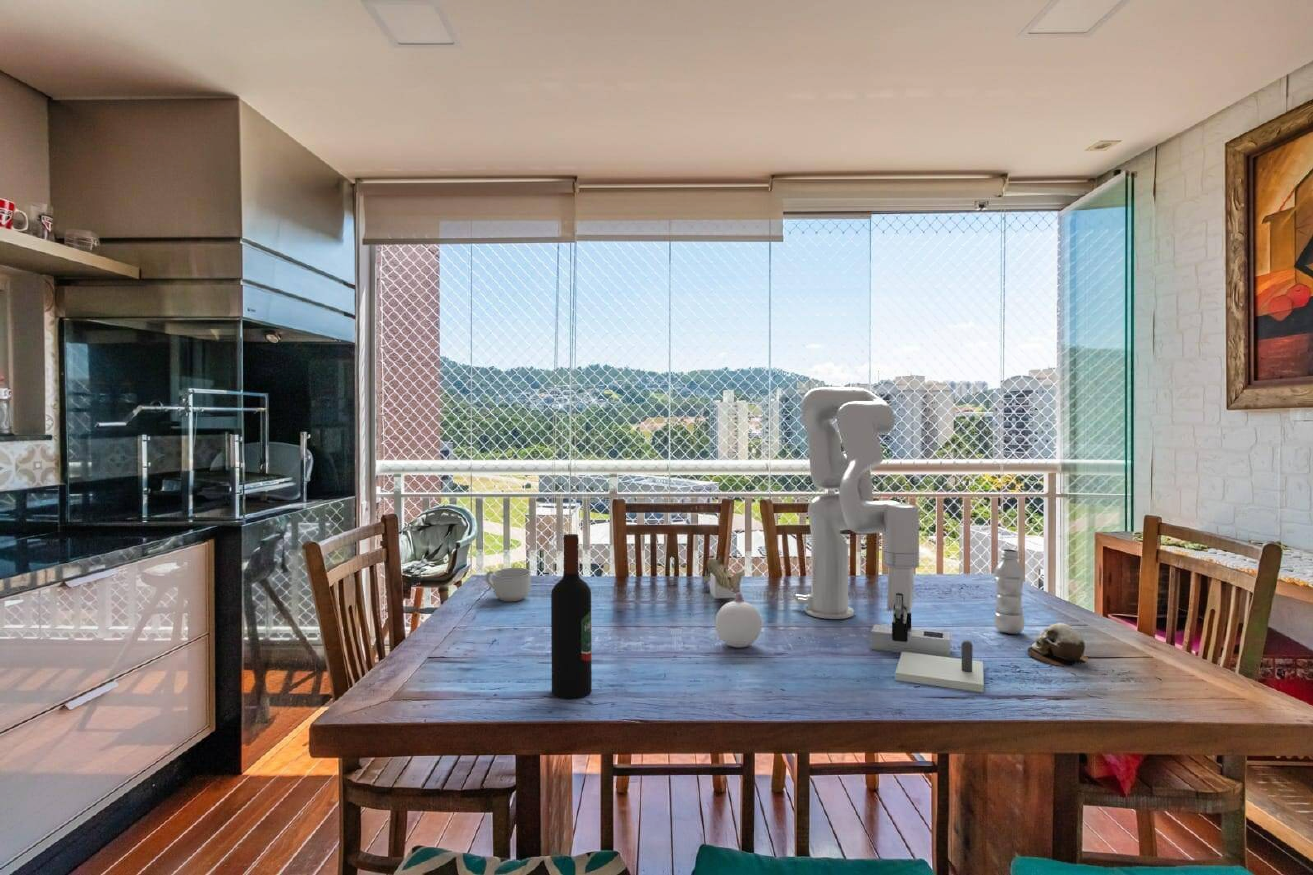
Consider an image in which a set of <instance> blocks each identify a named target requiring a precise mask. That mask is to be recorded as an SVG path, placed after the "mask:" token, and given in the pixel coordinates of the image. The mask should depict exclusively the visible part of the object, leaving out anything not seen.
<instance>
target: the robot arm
mask: <svg viewBox="0 0 1313 875" xmlns="http://www.w3.org/2000/svg"><path fill="white" fill-rule="evenodd" d="M800 408H801V409H800V412H801V420H802V424H803V428H804V430H805V433H806V437H807V444H808V445H807V446H808V455H809V458H808V459H809V469H810V470H809V471H810V478H811V481H812V484H813V486H814V487H815V488H817V489H820V490H838V493H833V494H832V493H831V494H822V495H818V496H816V497H813V498H812V499H811V500H810V502H809V503H808V506H807V517H808V522H809V527H810V537H811V541H810V543H811V544H810V545H811V548H810V549H811V557H810V558H811V562H810V563H811V567H810V568H811V575H810V576H811V579H810V580H811V581H810V584H811V586H810V593H809V594H807V595H804V594H798V593H797V594H795V598H794V599H795V602H797V604H806V606H805V608H804V609H805V613H806V614H807V615H809V616H811V617H815V618H819V619H826V620H828V619H829V620H842V619H843V620H844V619H848V618H852V617H853V616H854V615H855V610H854V609H853V608H852V607H850V606H849V547H848V544H847V543H848V542H846V539H845V538H844V537H843V535H842V533H841V531H847V530H850V531H852V533H855V534H863V535H864V534H883V562H884V563H883V565H884V566H885V567H887V568H888V569H887V571H888V572H887V592H886V594H887V598H886V600H887V602H886V610H887V611H888V612H889V613H890V612H891V611H892V621H891V626H892V640H893V641H900V642H907V641H908V628H912V612H911V610H912V607H913V603H914V601H913V600H914V592H915V591H914V589H915V588H914V585H915V584H914V583H915V582H914V580H915V574H914V573H915V572H914V569H918V568H920V511H919V508H918V506H916V505H914V504H908V503H901V502H899V501H895V500H889V499H888V500H886V499H885V500H874V495H873V494H874V492H873V484H872V481H873V480H872V474H871V470H873V469H874V468H875V467H878V466H879V465H880V464H881V463H882V462H883V460H884V453H883V449H882V447H881V443H880V440H879V435H880V436H881V435H888V434H890V433H891V432H892V430H894V427H895V423H896V422H895V413H894V411H893V409H892V407H891V406H890V405H889V403H888V402H886V401H885V400H884V399H882V398H881V397H879V396H877V395H876V394H874V393H872V392H871V391H869V390H868V389H866V388H863V387H843V386H842V387H841V386H840V387H838V386H823V387H817V388H813V389H810V390H809V391H807V393H805V395H804V396H803V399H802V401H801V407H800ZM830 420H836V422H837V423H836V424H837V426H838V431H839V432H838V431H837V429H836V427H835V426H834V425H833V424H832V422H830ZM841 442H842V443H841ZM841 444H842V446H843V449H844V453H843V450H842V447H841Z"/></svg>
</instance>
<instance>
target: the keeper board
mask: <svg viewBox="0 0 1313 875" xmlns="http://www.w3.org/2000/svg"><path fill="white" fill-rule="evenodd" d="M894 680H895V681H900V682H906V683H915V684H919V685H920V684H921V685H929V686H934V687H935V686H937V687H941V688H950V689H956V690H957V689H958V690H963V691H970V692H971V691H972V692H979V693H984V686H985V685H984V661H980V660H974V659H973V643H972V642H971V641H970V640H964V641H962V643H961V658H956V657H950V658H949V657H941V656H933V655H925V654H917V653H909V652H902V653H900V657H899V660H898V663H897V666H896V669H895V678H894Z"/></svg>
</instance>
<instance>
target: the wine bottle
mask: <svg viewBox="0 0 1313 875" xmlns="http://www.w3.org/2000/svg"><path fill="white" fill-rule="evenodd" d="M562 540H563V574H562V578H561V579H560V580H559V581H558V582H556V584H554V586H553V588H552V589H551V594H550V595H551V596H550V600H551V602H550V604H551V605H550V608H551V611H550V613H551V614H550V615H551V618H550V623H551V625H550V628H551V632H550V633H551V644H550V645H551V646H550V647H551V694H552V695H553V696H554V697H555V698H558V699H561V700H562V699H564V700H577V699H582V698H584V697H588V696H589V695H590V694H591V693H592V690H593V689H592V684H593V682H592V681H593V680H592V675H593V674H592V672H593V671H592V591H591V588H590V586H589V585H588V583H587V582H586V581H584V579H582V578H581V577H580V574H579V540H580V538H579V534H577V533H567V534H563V539H562Z"/></svg>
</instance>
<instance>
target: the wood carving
mask: <svg viewBox="0 0 1313 875" xmlns="http://www.w3.org/2000/svg"><path fill="white" fill-rule="evenodd" d="M721 562H722V557H721V556H718V557H717V559H715V558H708V559H707V561H706V570H705V573H704V578H703V580H702V584H705V583H707V582H710V583H709V585H710V587H709V594H710V595H711V596H712V597H713V599H731V598H732V599H735V596H736V593H741V588H740V586H741V579H742V577H743V572H742V570H740V571H736V573H734V574H732V572H731V571H730V570H728V569H727V567H725V566H724V565H723V563H721ZM741 594H742V593H741Z"/></svg>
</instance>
